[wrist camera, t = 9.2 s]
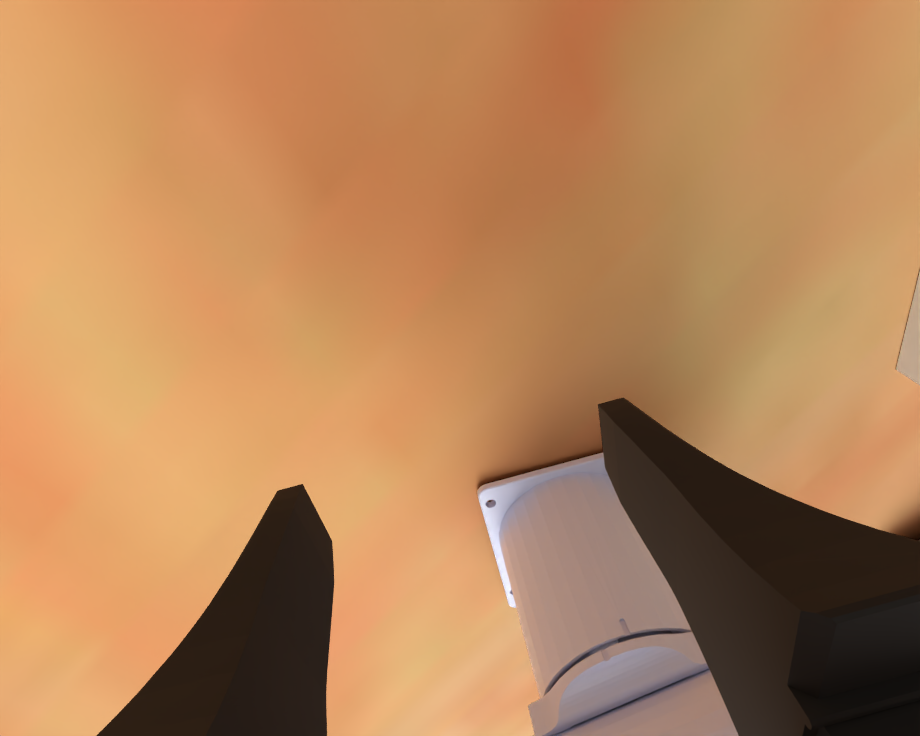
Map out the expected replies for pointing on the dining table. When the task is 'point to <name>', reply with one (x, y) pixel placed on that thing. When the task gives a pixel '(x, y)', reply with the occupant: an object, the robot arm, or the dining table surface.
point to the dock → (911, 341)
